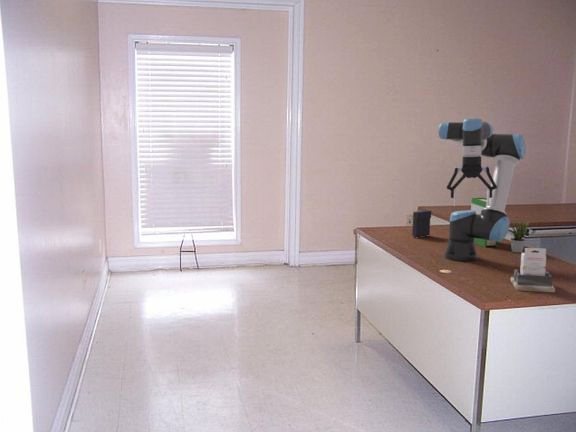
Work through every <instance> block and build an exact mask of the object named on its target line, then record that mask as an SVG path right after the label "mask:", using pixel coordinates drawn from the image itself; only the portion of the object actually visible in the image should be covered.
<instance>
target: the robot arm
mask: <svg viewBox="0 0 576 432" xmlns="http://www.w3.org/2000/svg"><path fill="white" fill-rule="evenodd" d="M493 132H494V129H493V125H492V124H491V123H489V122H487V121H483V120H482V118H477V117H476V118H474V117H473V118H465V119H463V122H449V121H447V122H441V123H440V124H439V127H438V133H437V134H438V137H439V138H440V140H445V141H446V140H449V141H450V140H451V141H453V142H456V143H458V144H460V145H462V155H463V156H462V166H461V167H457V166H456V167H454V170H453V171H454V172H453V174H452V176H451V178H450V179H449V181H448V184H446V190H449V191H450V198H451V199H453V207H456V198H457V197H456V195H457V194H456V192H457V191H456V190H455V189H456V188H457V187H458V186H459V185H460V184H461V183H462V182H463V180H464V179H466V178H467V179H476V178H478V179H479V180H480V181H481V182H482V183H483V184H484V185H485V187H487V189H486V198H487V204H486V207H485V208H484V209H482V211H481V214H480V215H479V214H476V212H475V211H473V210H471V209H467V210H458V211H457V210H456V211H453V212H451V214H450V216H449V229H448V232H449V233H448V243H447V246H446V248H445V251H444V258H446V259H448V260H453V261H457V262H471V261H475V260H477V258H478V253H477V249H476V247H475V246H476V245H475V242H474V238H476V239H483V240H490V241H498V242H502V241H503V240H505V238H506V236H507V235H508V234H509V231H508V230H510V225H511V222H510V219H509V217H508V214H507V213H506V211H505V210H506V205H507V201H508V199H509V198H508V197H509V192H510V188H511V185H512V180H513V175H514V170H515V167H516V166H517V165H518V164H519V163H520V160H522V159H524V158H525V157H526V152H527V151H526V149H527V148H526V147H527V146H526V140H525V138H524V136H523V135H522V134H517V133H516V134H515V133H493ZM482 156H483V157H485V158H493V161H494V162H495V167H494V170H493V174H492V175H491V172H490V167H489V166H486V167H482ZM482 171H483V172H484V173H485V174H486V175H487V177H488V179H489V181H490V184H489V183H488V181H487V180H486V179H485V178H484V177H483V176H482V174H481V173H482ZM460 172H461V173H463V174H462V175H461V176H460V177H459V179H458V180H457V181H456V182H455V183H454V181H455V179H456V177H457V175H458V174H459V173H460ZM453 183H454V184H453ZM509 224H510V225H509Z"/></svg>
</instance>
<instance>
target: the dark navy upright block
mask: <svg viewBox="0 0 576 432" xmlns="http://www.w3.org/2000/svg"><path fill="white" fill-rule="evenodd" d="M431 218H432V210H427V209H426V210H419V211H413V212H412V232H411V233H412V234H411V235H412V236H414V237H420V238H422V237H421V236H426V237H428V236H427V235H429V236H430V234H431V233H430V230H431V229H430V228H431ZM414 237H413V238H414Z"/></svg>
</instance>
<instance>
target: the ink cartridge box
mask: <svg viewBox="0 0 576 432" xmlns="http://www.w3.org/2000/svg"><path fill="white" fill-rule="evenodd" d="M535 251H536V252H535ZM546 266H547V249H546V248H540V247H539V248H538V247H525V248H524V252H521V255H520V269H519V270H520V275H537V276H545V271H547V270H546Z"/></svg>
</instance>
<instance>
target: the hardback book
mask: <svg viewBox="0 0 576 432" xmlns="http://www.w3.org/2000/svg"><path fill="white" fill-rule="evenodd" d="M486 204H487V197H471V206H470V210H473V211H475V212H476V214H479V215H480V214H481V211H482V209H484V208H485V207H486ZM474 244H476V245H477V244H478V245H479V246H481V247H484V248H487V246H494V247H495V248H497V247H499V241H490V240H483V239H476V238H474Z"/></svg>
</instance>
